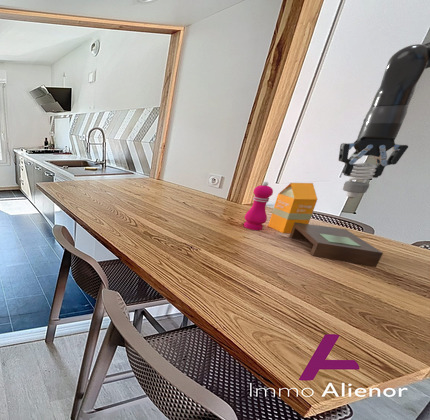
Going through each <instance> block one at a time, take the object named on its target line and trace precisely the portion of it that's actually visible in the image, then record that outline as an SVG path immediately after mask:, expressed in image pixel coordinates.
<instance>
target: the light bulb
mask: <svg viewBox="0 0 430 420" xmlns="http://www.w3.org/2000/svg"><path fill="white" fill-rule="evenodd" d="M353 165H354V167H353V169H352V172H351V174H350V176H349V179H348V180H346V181H345V182H344V183H343V187H342V191H343V192H346V196H347V198H349V199H355V198H358V197H359V195H360V194H365V193H367V191H368V189H369V188H370V183H368V181H369V180H372V179H374V178H373V175H375V171H376V169H375V168H377V164H373V163H369V162H360V163H354V164H353ZM362 180H363V181H362Z"/></svg>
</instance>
